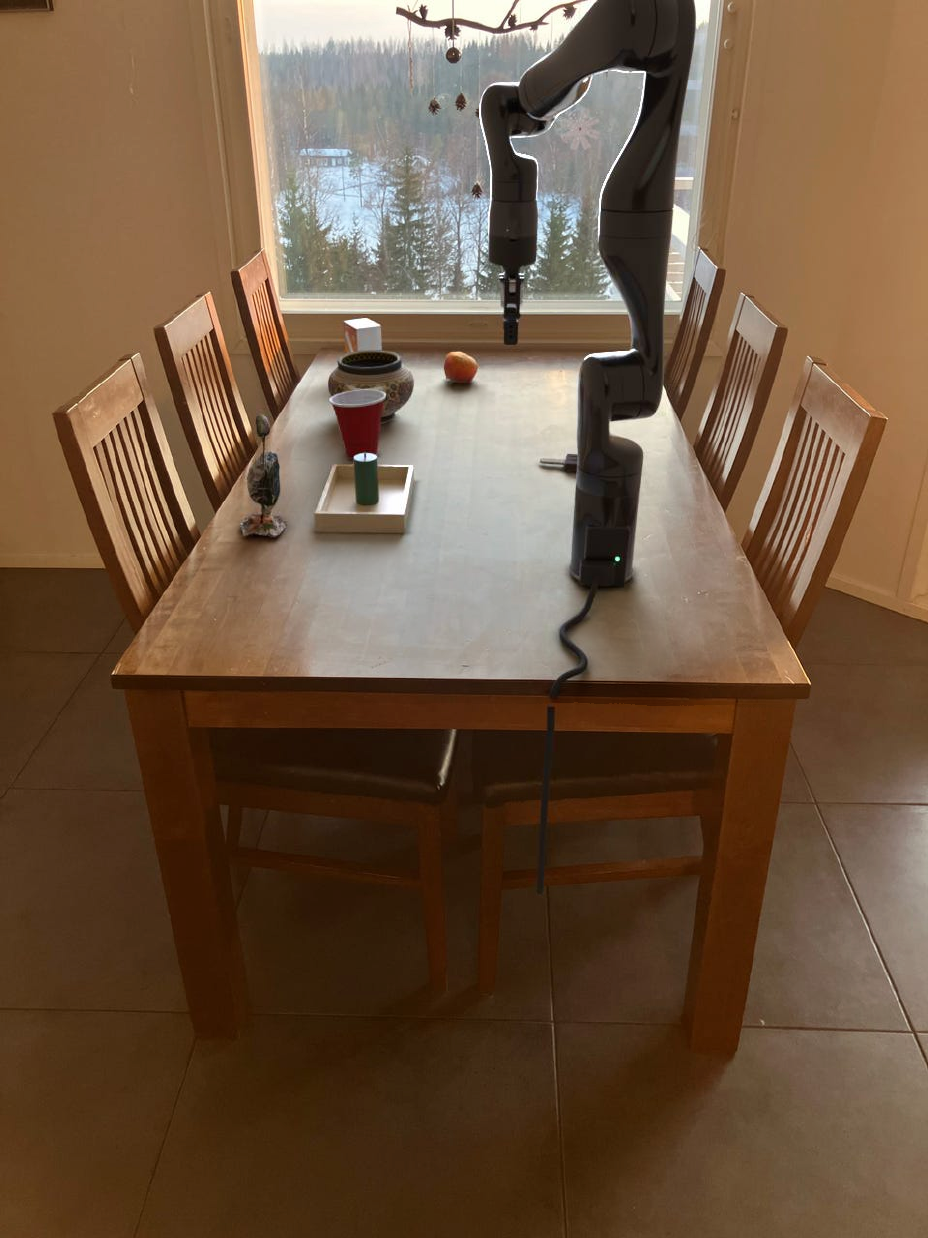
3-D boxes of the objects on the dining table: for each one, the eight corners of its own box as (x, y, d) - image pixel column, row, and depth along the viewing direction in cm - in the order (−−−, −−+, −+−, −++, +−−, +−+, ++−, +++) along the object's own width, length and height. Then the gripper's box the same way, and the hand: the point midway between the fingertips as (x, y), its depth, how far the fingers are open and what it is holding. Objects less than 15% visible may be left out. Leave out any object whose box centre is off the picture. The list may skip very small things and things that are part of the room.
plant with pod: (299, 514, 167) (289, 399, 156) (276, 543, 157) (264, 422, 147) (254, 510, 168) (241, 396, 158) (228, 539, 158) (213, 419, 148)
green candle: (377, 505, 168) (375, 457, 163) (354, 505, 168) (351, 456, 163) (380, 496, 171) (378, 448, 167) (357, 496, 171) (354, 448, 167)
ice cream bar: (538, 469, 184) (618, 475, 182) (538, 461, 183) (619, 466, 181) (541, 459, 189) (619, 464, 187) (541, 451, 188) (620, 456, 186)
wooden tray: (404, 533, 160) (404, 514, 159) (315, 531, 161) (314, 513, 159) (414, 482, 179) (413, 465, 177) (334, 481, 179) (333, 464, 178)
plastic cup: (354, 441, 197) (351, 383, 191) (399, 451, 192) (397, 391, 186) (321, 458, 189) (316, 397, 183) (366, 469, 184) (363, 407, 178)
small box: (346, 375, 236) (342, 320, 230) (370, 371, 239) (367, 317, 233) (359, 384, 230) (356, 328, 224) (383, 380, 233) (381, 324, 226)
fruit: (430, 373, 233) (446, 342, 231) (456, 387, 237) (472, 356, 235) (444, 382, 226) (461, 351, 224) (471, 396, 231) (487, 365, 229)
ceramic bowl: (353, 411, 222) (332, 346, 215) (428, 393, 219) (410, 327, 211) (332, 449, 201) (308, 379, 194) (414, 431, 197) (393, 359, 190)
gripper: (488, 223, 157) (487, 326, 165) (488, 238, 144) (486, 348, 153) (535, 223, 156) (531, 326, 165) (539, 238, 144) (535, 349, 152)
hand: (510, 337), depth 159 cm, fingers open, 8 cm apart
